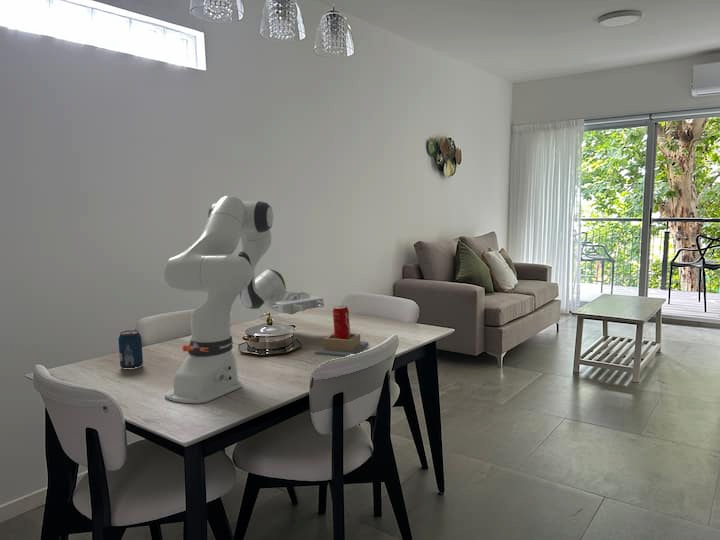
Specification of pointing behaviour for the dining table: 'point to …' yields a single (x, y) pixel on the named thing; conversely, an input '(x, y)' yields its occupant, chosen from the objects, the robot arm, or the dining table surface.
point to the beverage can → (341, 322)
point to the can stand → (341, 345)
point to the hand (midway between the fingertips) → (313, 306)
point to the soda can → (130, 349)
